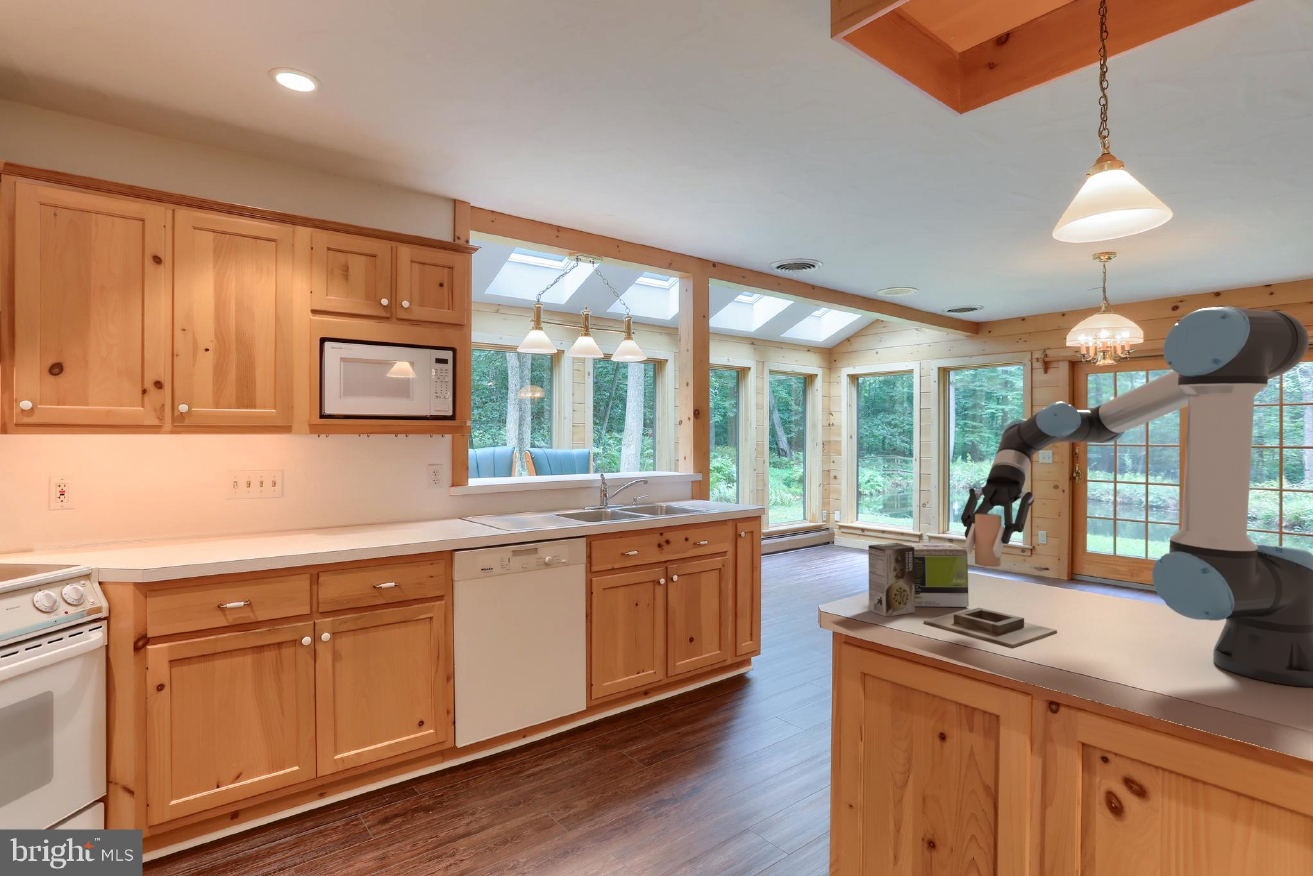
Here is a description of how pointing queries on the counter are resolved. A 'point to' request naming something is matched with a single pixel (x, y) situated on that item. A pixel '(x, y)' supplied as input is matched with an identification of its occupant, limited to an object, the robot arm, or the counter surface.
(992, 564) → the tall mauve pillar
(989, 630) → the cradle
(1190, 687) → the counter surface
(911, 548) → the coffee box
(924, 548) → the tea box
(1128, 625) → the counter surface
